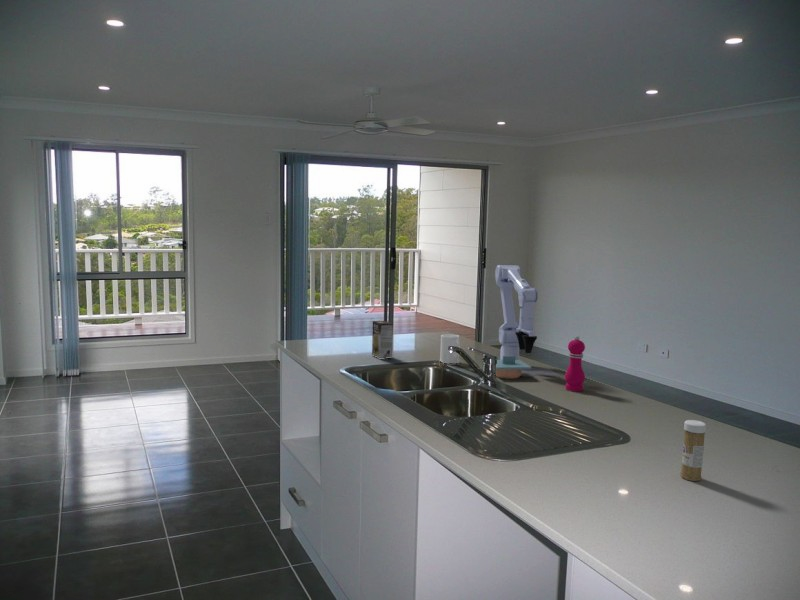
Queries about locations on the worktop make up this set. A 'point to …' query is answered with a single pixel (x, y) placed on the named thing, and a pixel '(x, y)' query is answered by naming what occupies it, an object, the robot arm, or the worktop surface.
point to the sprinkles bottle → (693, 450)
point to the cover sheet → (511, 363)
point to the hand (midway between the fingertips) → (525, 351)
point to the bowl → (508, 373)
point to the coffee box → (382, 339)
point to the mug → (444, 353)
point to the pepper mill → (575, 366)
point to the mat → (538, 372)
